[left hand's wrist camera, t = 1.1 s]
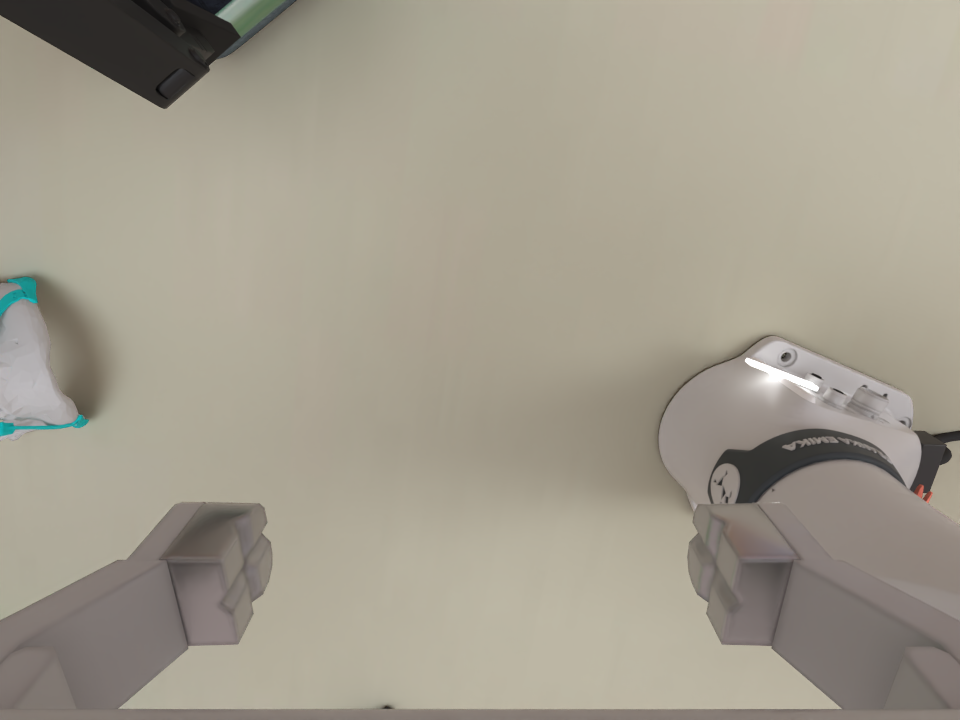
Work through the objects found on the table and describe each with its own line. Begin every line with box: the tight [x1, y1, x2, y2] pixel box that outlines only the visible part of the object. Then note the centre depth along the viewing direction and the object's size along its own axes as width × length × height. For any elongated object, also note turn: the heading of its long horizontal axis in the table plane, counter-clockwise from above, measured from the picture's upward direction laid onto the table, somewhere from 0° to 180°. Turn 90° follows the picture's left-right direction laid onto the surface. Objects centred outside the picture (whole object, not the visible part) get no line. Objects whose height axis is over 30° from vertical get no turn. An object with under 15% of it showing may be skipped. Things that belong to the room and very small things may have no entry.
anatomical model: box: [0, 277, 89, 441], centre depth 44 cm, size 15×10×10 cm
